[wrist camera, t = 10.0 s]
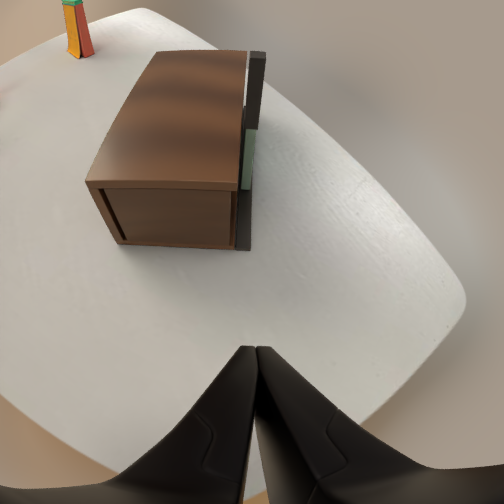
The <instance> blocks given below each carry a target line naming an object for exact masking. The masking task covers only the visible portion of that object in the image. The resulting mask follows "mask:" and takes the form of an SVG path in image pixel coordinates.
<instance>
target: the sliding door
mask: <svg viewBox="0 0 504 504" xmlns="http://www.w3.org/2000/svg"><path fill="white" fill-rule="evenodd" d="M265 63H266V52H260V51H250V60H249V71H248V83H247V95H246V108H245V122H244V142H243V160H242V179H241V189H244V190H250V183H251V174H252V165H253V155H254V146H255V137H256V130H258V123H259V115H260V106H261V97H262V89H263V80H264V71H265Z"/></svg>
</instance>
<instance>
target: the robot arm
mask: <svg viewBox="0 0 504 504" xmlns="http://www.w3.org/2000/svg"><path fill="white" fill-rule="evenodd" d="M254 420H255V427H256V433H257V439H258V444H259V450H260V455H261V461H262V466H263V471H264V477H265V482H266V487H267V492H268V498H269V503H270V504H504V464H501V465H494V466H485V467H475V468H462V469H434V468H430V467H426V466H424V465H421V464H419V463H417V462H415V461H413V460H412V459H410V458H408V457H407V456H405V455H403V454H401V453H400V452H398V451H397V450H395V449H393V448H392V447H390V446H389V445H387V444H386V443H384V442H382V441H381V440H379V439H378V438H376V437H375V436H373V435H372V434H370V433H369V432H368V431H366V430H365V429H363V428H362V427H360V426H359V425H358V424H357V423H356V422H354V421H353V420H352V419H351V418H349V417H348V416H347V415H346V414H345V413H343V412H342V411H341V410H340V409H338V408H337V407H336V406H335V405H334V404H333V403H332V402H331V401H329V400H328V399H327V398H326V397H325V396H324V395H323V394H322V393H320V392H319V391H318V390H317V389H316V388H315V387H314V386H313V385H312V384H310V383H309V382H308V381H307V380H306V379H305V378H304V377H303V376H302V375H301V374H299V373H298V372H297V371H296V370H295V369H294V368H293V367H292V366H291V365H290V364H289V363H287V362H286V361H285V360H284V359H283V358H282V357H281V356H280V355H279V354H278V353H277V352H276V351H275V350H274V349H273V348H271V347H270V346H257V347H256V348H255V347H254V346H240V347H239V348H238V350H237V351H236V352H235V353H234V355H233V356H232V357H231V359H230V360H229V361H228V362H227V364H226V365H225V366H224V368H223V369H222V370H221V371H220V373H219V374H218V375H217V377H216V378H215V379H214V380H213V382H212V383H211V384H210V385H209V387H208V388H207V389H206V390H205V392H204V393H203V394H202V395H201V397H200V398H199V399H198V400H197V402H196V403H195V404H194V405H193V406H192V408H191V409H190V410H189V411H188V412H187V414H186V415H185V416H184V417H183V418H182V420H181V421H180V422H179V423H178V424H177V425H176V426H175V427H174V428H173V429H172V431H170V432H169V433H168V434H167V435H166V436H165V437H164V438H163V439H162V440H161V441H160V442H158V443H157V444H156V445H155V446H154V447H153V448H151V449H150V450H149V451H148V452H147V453H145V454H144V455H143V456H142V457H140V458H139V459H138V460H137V461H136V462H134V463H133V464H132V465H131V466H129V467H128V468H127V469H126V470H124V471H123V472H122V473H120V474H119V475H117V476H116V477H114V478H112V479H110V480H108V481H105V482H102V483H98V484H91V485H83V486H73V487H62V488H46V489H17V488H10V487H5V486H1V485H0V504H243V497H244V490H245V483H246V476H247V469H248V462H249V454H250V447H251V439H252V432H253V423H254Z"/></svg>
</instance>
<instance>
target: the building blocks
mask: <svg viewBox="0 0 504 504" xmlns="http://www.w3.org/2000/svg"><path fill="white" fill-rule="evenodd" d="M62 1H63V3H62V4H63V8H64V15H65V21H66V28H67V35H68V50H67V51H68V52H70V53H71V54H72V55H74V56H75V57H76V58H78V59H79V58H80V54H81V55H82V56H84V57H85V58H86V57H88V56H90V55H92V54H94V50H93V46H92V42H91V38H90V34H89V30H88V26H87V22H86V17H85V13H84V8H83V2H82V0H62Z"/></svg>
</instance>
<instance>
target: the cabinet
mask: <svg viewBox="0 0 504 504" xmlns="http://www.w3.org/2000/svg"><path fill="white" fill-rule="evenodd" d="M246 60H247V51H235V50H234V51H233V50H179V51H161V52H156V53H155V55H154V56H153V58H152V59H151V61H150V62H149V64H148V65H147V67H146V68H145V70H144V71H143V73H142V74H141V76H140V77H139V79H138V81H137V82H136V84H135V85H134V87H133V89H132V90H131V92H130V94H129V95H128V97H127V99H126V100H125V102H124V104H123V106H122V107H121V109H120V111H119V113H118V114H117V116H116V118H115V120H114V122H113V124H112V125H111V127H110V129H109V131H108V133H107V135H106V137H105V139H104V141H103V143H102V145H101V147H100V149H99V151H98V153H97V155H96V157H95V159H94V162H93V164H92V166H91V168H90V170H89V173H88V175H87V177H86V179H85V183H86V185H87V187H88V188H89V192H90V194H91V196H92V198H93V200H94V202H95V204H96V206H97V207H98V209H99V211H100V213H101V215H102V217H103V219H104V221H105V223H106V225H107V227H108V228H109V230H110V232H111V234H112V236H113V238H114V239H115V241H116V243H117V244H129V245H149V246H169V247H189V248H209V249H229V250H234V245H235V226H236V208H237V191H238V174H239V159H240V143H241V129H242V143H241V159H240V175H239V193H238V211H237V230H236V249H235V250H245V251H250V250H251V209H252V174H251V183H250V190H244V189H241V179H242V160H243V142H244V122H245V108H246V106H244V112H243V100H244V86H245V73H246ZM242 114H243V127H242Z"/></svg>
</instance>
